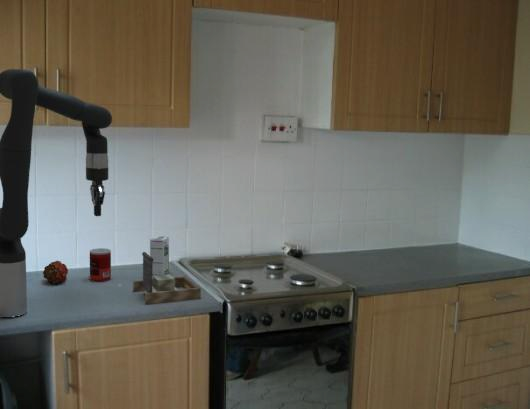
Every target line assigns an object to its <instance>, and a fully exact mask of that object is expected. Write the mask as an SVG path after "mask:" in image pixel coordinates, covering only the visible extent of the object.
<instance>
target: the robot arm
mask: <svg viewBox="0 0 530 409" xmlns="http://www.w3.org/2000/svg"><path fill="white" fill-rule="evenodd" d="M0 95H1V96H3V97H4V98H6V99H8V100H11V110H10V117H9V120H8V123H7V124H6V126H5V128H4V131H3V132H2V134H1V137H0V183H1V187H2V188H1V189H2V204H1V205H2V206H1V207H0V318H2V317H12V316H18V315H22V314H24V315H26V314H27V313H28V294H27V293H28V292H27V291H28V290H27V289H28V288H27V287H28V286H27V257H26V255H27V254H26V250H25V248H24V245H23V244H22V238H23V237H24V236H25V235H26V233H27V231H28V228H29V221H30V220H29V203H28V202H29V199H28V198H29V197H28V196H29V185H30V184H29V183H30V170H31V163H32V162H31V161H32V159H31V158H32V145H33V143H32V142H33V130H34V118H35V112H36V106H37V107H41V108H44V109H46V110H48V111H50V112H54V113H56V114H58V115H61V116H63V117H65V118H69V119H70V120H72V121H76V122H77V121H78V122H81V126H82V130H83V134H84V138H85V140H86V141H85V142H86V144H85V146H86V148H85V149H86V151H85V152H86V153H85V154H86V155H85V179H86V181H91V185H90V187H89V190H90V197H91V202H92V205H93V215H94V216H95V217H101V216H102V205H103V204H104V199H105V195H106V191H105V185H104V184H103V182H104V181H105V182H106V181H108V180H109V156H108V152H109V150H108V139H107V137H106V136H104V135H103V134H102V132H101V130H102V129H107V128H108V127H110V125H111V124H112V123H113V115H112V113H111V112H110V110H108V109H107V108H105V107H103V106H102V105H101V106H100V105H97V104H94V103H90V102H87V101H83V100H82V99H80V98H78V97H76V96H74V95H71V94H68V93H65V92H62V91H59V90H55V89H52V88H51V89H50V88H48V87H44V86H42V85H39V80H38V77H37V75H36V74H35V73H34V71H31V70H29V69H23V68H21V69H20V68H19V69H18V68H17V69H16V68H9V69H6V70H3V71H1V72H0ZM26 312H27V313H26ZM25 313H26V314H25ZM22 316H23V315H22Z"/></svg>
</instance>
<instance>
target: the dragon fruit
mask: <svg viewBox="0 0 530 409" xmlns="http://www.w3.org/2000/svg"><path fill="white" fill-rule="evenodd" d="M43 269H44V270H43V271H42V275H43V278H44V279H46V280H47V281H48V282H49V281H51V282H50V283H52V284H56V283H57V284H58V283H60V282H65V281H66V280H67V275H68V274H69V269H68V267H67V265H66V264H65V263H62V261H60V260H55V261H51V262H50V263H49V264H48V265H46V266H44V268H43Z"/></svg>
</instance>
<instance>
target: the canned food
mask: <svg viewBox="0 0 530 409" xmlns="http://www.w3.org/2000/svg"><path fill="white" fill-rule="evenodd" d="M111 254H112V251H111V249H109V248H105V247H103V248H102V247H101V248H92V249H90V250H89V279H90V281H92V282H97V283H98V282H99V283H100V282H106V281H109V280H110V279H111V277H112V255H111Z"/></svg>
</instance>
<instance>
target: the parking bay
mask: <svg viewBox="0 0 530 409" xmlns="http://www.w3.org/2000/svg"><path fill="white" fill-rule="evenodd" d="M172 277H173V276H172ZM173 278H175V287H176V288H177V289H178V288H182V289H178V290H170V291H161V292H151V293H146V292H145V291H144V288H143V279H141V280H134V281H133V280H132V291H133V292H134V293H135V292H145V293H144V304H145V305H154V304H162V303H169V302H180V301H188V300H189V301H190V300H198V299H199V300H200V299H201V298H202V297H201V295H202V292H201V291H202V289H201V287H200V286H198V285H197V284H196V283H194V282H193V281H192V280H190V279H189V278H188V277H187V276H174V277H173ZM152 286H153V278H152Z"/></svg>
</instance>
